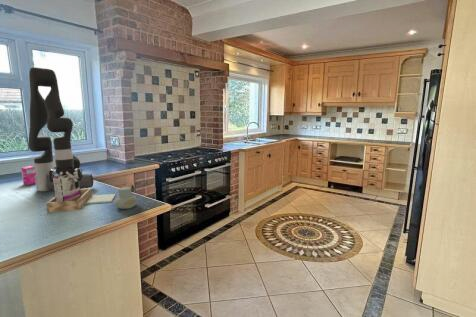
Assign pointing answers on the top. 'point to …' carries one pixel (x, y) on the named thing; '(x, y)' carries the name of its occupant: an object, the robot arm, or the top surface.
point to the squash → (76, 162)
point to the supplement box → (28, 175)
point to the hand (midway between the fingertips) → (67, 189)
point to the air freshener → (125, 198)
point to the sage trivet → (101, 198)
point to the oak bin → (69, 202)
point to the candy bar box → (66, 188)
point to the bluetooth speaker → (84, 183)
